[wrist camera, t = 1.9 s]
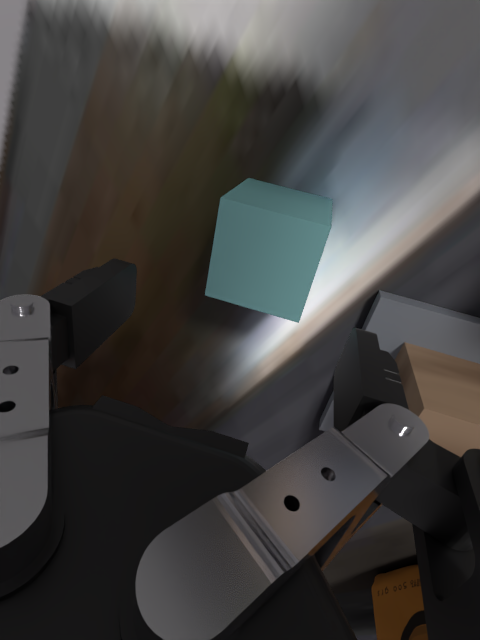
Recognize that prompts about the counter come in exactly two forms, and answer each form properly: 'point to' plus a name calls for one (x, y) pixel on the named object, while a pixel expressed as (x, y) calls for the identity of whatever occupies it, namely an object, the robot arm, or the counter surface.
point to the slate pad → (416, 333)
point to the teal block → (268, 247)
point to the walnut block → (442, 395)
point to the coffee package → (399, 605)
